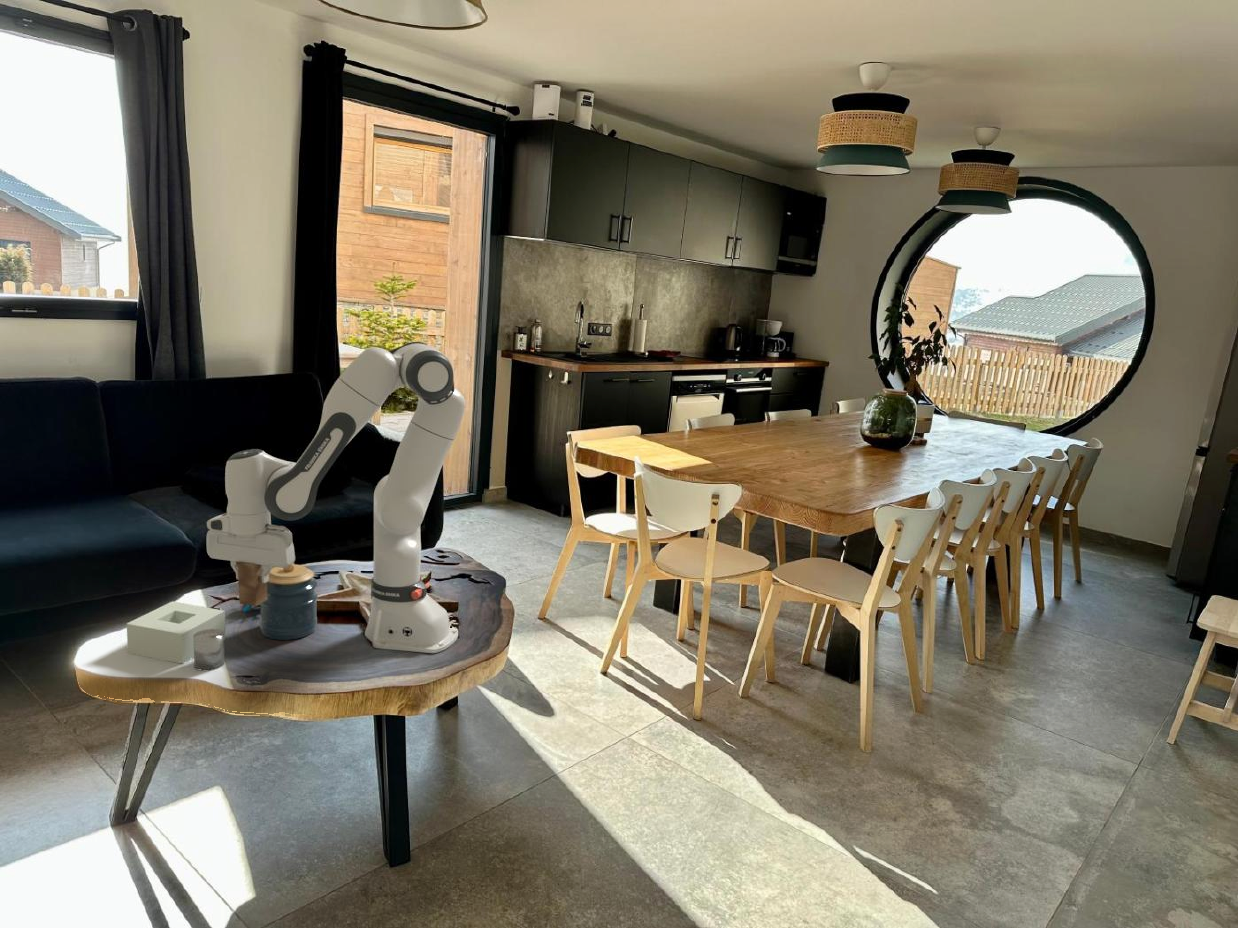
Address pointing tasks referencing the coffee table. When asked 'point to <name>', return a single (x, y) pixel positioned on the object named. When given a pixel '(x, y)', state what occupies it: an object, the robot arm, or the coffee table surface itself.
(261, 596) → the square bit
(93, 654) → the coffee table surface
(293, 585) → the canister
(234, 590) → the coffee table surface
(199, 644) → the round bit
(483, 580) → the coffee table surface
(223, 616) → the block
